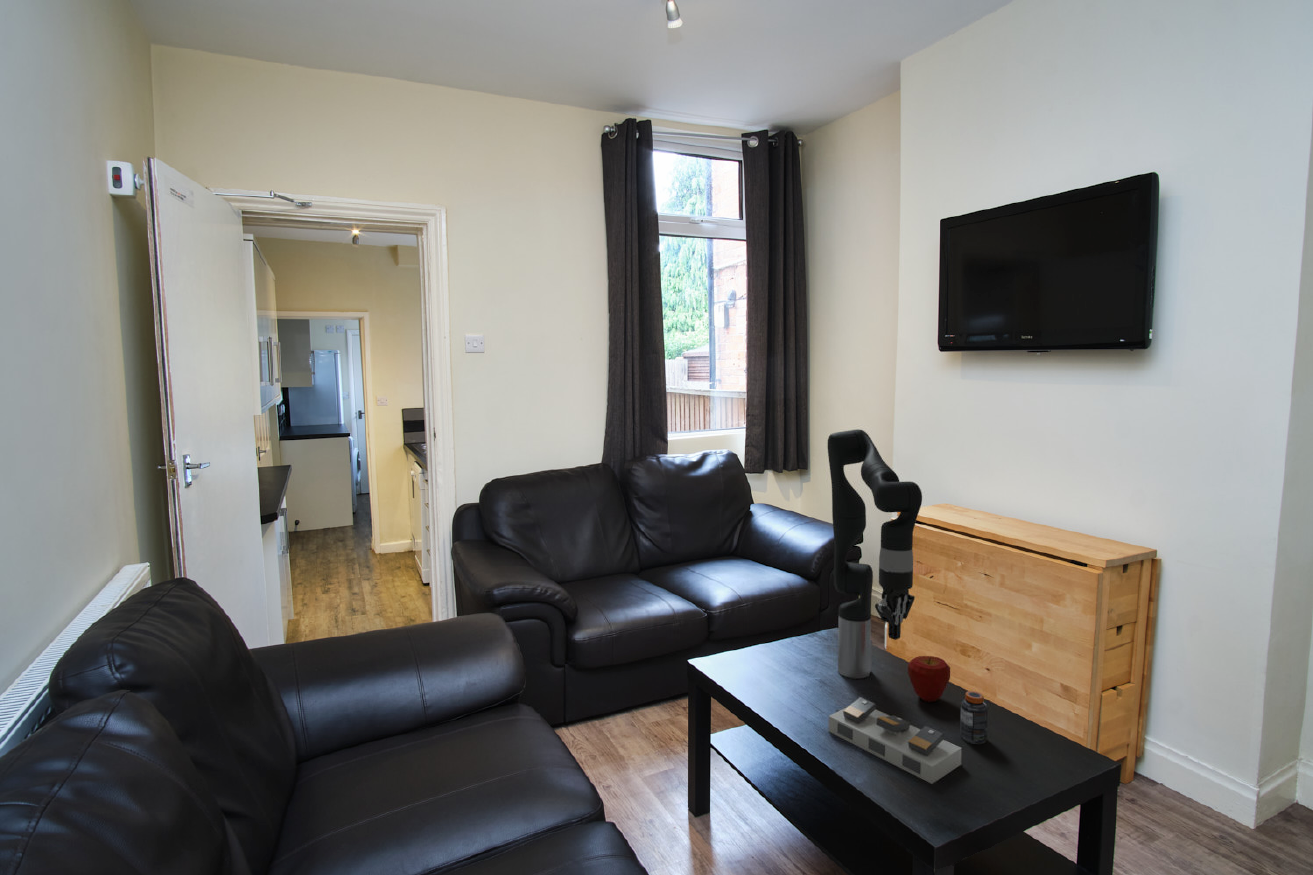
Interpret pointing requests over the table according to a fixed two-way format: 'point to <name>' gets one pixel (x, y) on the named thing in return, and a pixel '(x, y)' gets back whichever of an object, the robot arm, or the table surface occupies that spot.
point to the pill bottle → (974, 718)
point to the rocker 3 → (926, 740)
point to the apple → (929, 676)
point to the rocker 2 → (893, 723)
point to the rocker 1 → (859, 710)
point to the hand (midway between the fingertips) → (894, 638)
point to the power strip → (896, 746)
